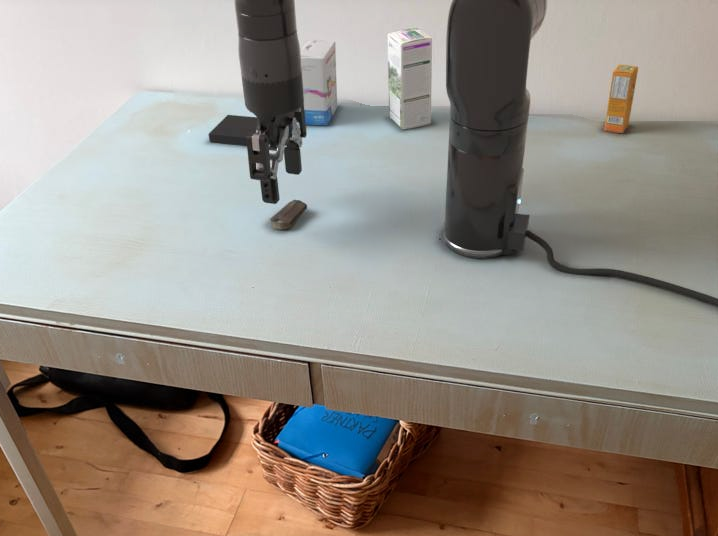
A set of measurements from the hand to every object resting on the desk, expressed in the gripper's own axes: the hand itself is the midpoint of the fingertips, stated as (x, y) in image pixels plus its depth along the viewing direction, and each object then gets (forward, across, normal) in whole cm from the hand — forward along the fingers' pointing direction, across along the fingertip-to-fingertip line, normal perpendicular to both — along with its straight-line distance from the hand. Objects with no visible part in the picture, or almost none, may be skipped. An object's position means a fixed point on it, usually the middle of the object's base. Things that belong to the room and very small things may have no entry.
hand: (283, 187), depth 103 cm
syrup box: (+5, +36, -9) cm, 37 cm away
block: (+5, 0, 0) cm, 5 cm away
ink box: (+5, +35, +7) cm, 36 cm away
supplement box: (+5, +40, -43) cm, 59 cm away
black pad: (+5, +24, +17) cm, 30 cm away
